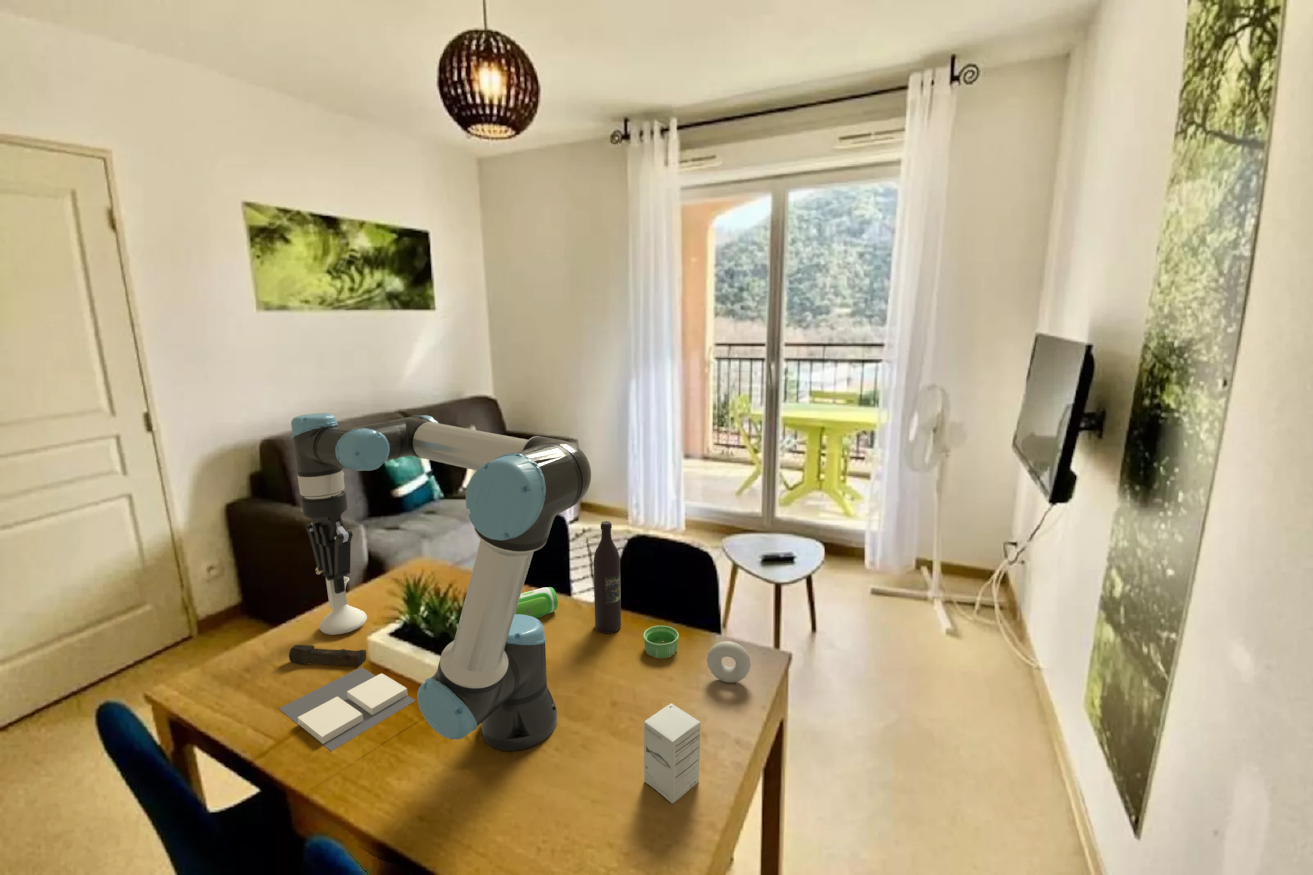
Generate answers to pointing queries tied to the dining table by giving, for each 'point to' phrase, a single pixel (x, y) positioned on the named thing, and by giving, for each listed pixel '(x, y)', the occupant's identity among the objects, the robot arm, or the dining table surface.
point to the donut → (734, 652)
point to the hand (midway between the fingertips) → (338, 606)
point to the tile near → (330, 719)
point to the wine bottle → (607, 583)
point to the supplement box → (671, 752)
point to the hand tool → (326, 656)
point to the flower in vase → (342, 618)
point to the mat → (340, 690)
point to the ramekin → (660, 641)
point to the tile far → (377, 693)
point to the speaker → (537, 602)
